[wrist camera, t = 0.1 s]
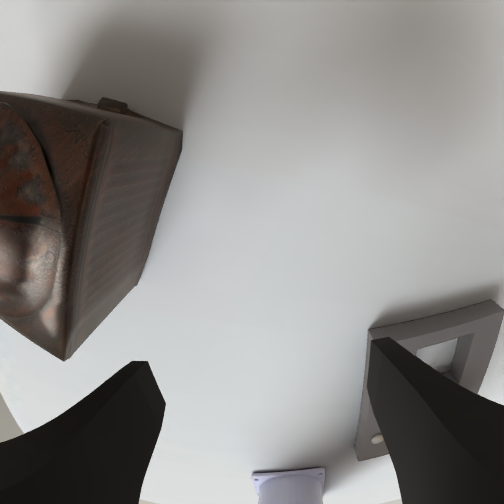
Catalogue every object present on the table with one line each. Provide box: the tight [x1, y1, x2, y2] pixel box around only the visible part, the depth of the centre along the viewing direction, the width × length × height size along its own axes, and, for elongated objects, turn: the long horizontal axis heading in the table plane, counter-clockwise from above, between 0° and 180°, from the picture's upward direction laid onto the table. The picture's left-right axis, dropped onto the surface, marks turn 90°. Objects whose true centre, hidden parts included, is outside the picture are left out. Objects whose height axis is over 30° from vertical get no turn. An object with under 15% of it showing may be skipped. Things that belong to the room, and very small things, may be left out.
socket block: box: [354, 300, 504, 461], centre depth 20 cm, size 15×12×2 cm
